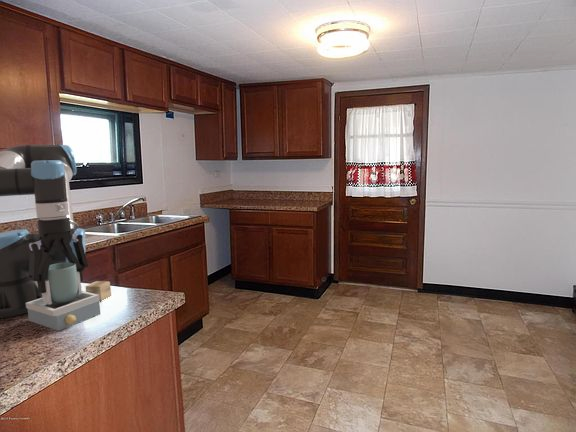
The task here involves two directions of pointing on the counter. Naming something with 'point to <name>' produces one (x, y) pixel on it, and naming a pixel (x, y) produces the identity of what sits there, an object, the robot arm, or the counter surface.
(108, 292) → the oak block
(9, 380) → the counter surface
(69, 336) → the counter surface
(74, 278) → the cup
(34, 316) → the grey drawer box
